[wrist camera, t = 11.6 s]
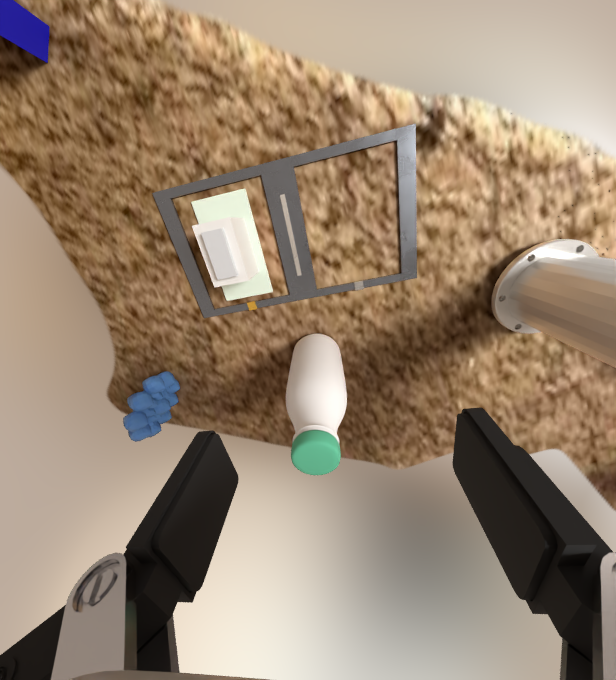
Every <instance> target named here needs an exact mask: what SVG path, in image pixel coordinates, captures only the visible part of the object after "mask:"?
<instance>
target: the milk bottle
mask: <svg viewBox="0 0 616 680" xmlns="http://www.w3.org/2000/svg"><path fill="white" fill-rule="evenodd" d="M346 406H347V392H346V383H345V377H344V371H343V365H342V359H341V354H340V350H339V347H338V345H337V343H336V342H335V341H334V340H333V339H332V338H330V337H328V336H326V335H323V334H310V335H307V336H305V337H303V338H302V339H300V340H299V341H298V342H297V344H296V346H295V348H294V351H293V356H292V361H291V366H290V371H289V377H288V383H287V390H286V407H287V411H288V415H289V417H290V419H291V421H292V423H293V425H294V428H295V435H294V437H293V444H292V449H291V459H292V462H293V464H294V466H295V467H296V468H297V469H298V470H300V471H302V472H303V473H306V474H310V475H323V474H327V473H329V472H331V471H333V470H334V469H336V468H337V466H338V465H339V462H340V458H341V455H340V446H339V438H338V436H337V430H338V427H339V425H340V423H341V421H342V419H343V417H344V414H345V411H346Z"/></svg>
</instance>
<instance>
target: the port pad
mask: <svg viewBox="0 0 616 680" xmlns="http://www.w3.org/2000/svg"><path fill="white" fill-rule="evenodd" d="M191 203H192V206H193V209H194V211H195V214H196V217H197V220H198V223H199V224H202V223H207V222H211V221H215V220H219V219H224V218H228V217H237V218H244V220H245V224H246V227H247V231H248V234H249V238H250V242H251V245H252V249H253V252H254V256H255V259H256V263H257V267H258V270H259V273H258V274H256V275H255V276H254V277H253V278H252V279H250V280H249V281H245V282H240V283H235V284H230V285H225V286H222V289H223V292H224V295H225V297H226V300H227V301H229V300H234V299H239V298H244V297H250V296H255V295H260V294H265V293H270V292H273V290H272V286H271V282H270V278H269V275H268V271H267V267H266V264H265V260H264V256H263V253H262V249H261V245H260V241H259V238H258V234H257V230H256V227H255V223H254V219H253V216H252V212H251V208H250V204H249V201H248V197H247V193H246V190H245V189H241V190H237V191H233V192H229V193H225V194H221V195H217V196H213V197H209V198H205V199H201V200H197V201H193V202H191Z"/></svg>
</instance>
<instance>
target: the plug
mask: <svg viewBox="0 0 616 680" xmlns="http://www.w3.org/2000/svg"><path fill="white" fill-rule="evenodd" d="M192 228H193V231H194V233H195V236H196V239H197V241H198V244H199V247H200V250H201V252H202V255H203V258H204V260H205V263H206V266H207V269H208V271H209V274H210V277H211V279H212V282H213V285H214V287H219V286H225V285H230V284H235V283H240V282H245V281H249V280H250V279H252V278H253V277H254V276H255V275H256V274H258V273H259V270H258V267H257V263H256V259H255V256H254V252H253V249H252V245H251V242H250V238H249V234H248V231H247V227H246V224H245V220H244V218H237V217H228V218H224V219H219V220H215V221H211V222H207V223H202V224H198V225H194V226H192Z"/></svg>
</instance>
